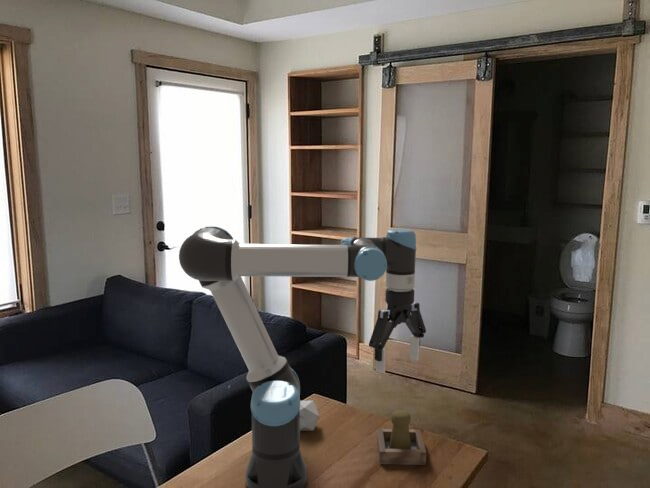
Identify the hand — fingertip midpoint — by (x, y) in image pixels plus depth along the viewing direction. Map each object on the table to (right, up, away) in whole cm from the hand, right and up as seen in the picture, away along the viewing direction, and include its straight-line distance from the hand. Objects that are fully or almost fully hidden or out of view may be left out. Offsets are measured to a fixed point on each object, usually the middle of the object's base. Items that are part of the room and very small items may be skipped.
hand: (397, 365), depth 144 cm
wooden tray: (+1, -24, +2) cm, 24 cm away
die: (-26, -22, +15) cm, 37 cm away
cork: (+1, -24, +2) cm, 24 cm away
